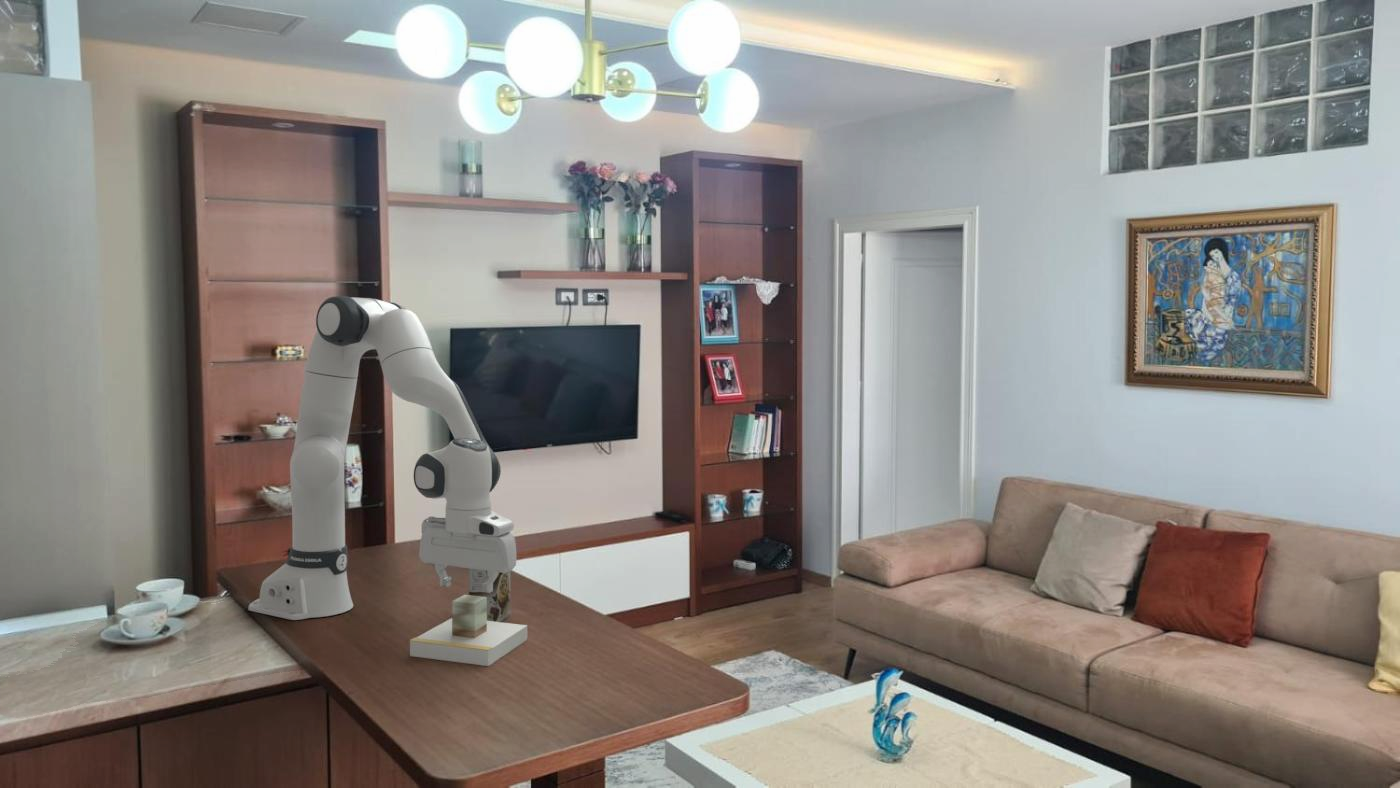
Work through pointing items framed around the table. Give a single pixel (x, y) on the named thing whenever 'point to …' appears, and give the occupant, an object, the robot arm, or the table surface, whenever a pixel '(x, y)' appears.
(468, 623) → the pale green block
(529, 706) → the table surface
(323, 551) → the robot arm
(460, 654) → the block
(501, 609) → the coffee box
